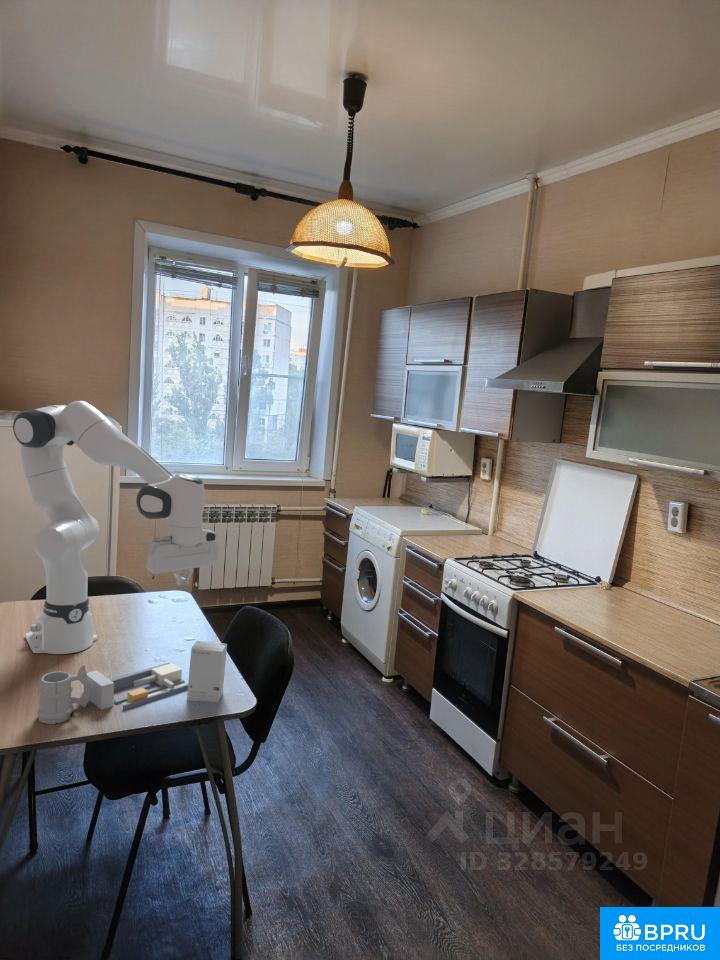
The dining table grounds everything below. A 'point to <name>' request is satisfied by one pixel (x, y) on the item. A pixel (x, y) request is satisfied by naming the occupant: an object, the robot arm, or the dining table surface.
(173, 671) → the cream block with rods
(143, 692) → the orange rectangular block
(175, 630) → the dining table surface
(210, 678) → the skincare box
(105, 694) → the base
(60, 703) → the mug
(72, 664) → the dining table surface
